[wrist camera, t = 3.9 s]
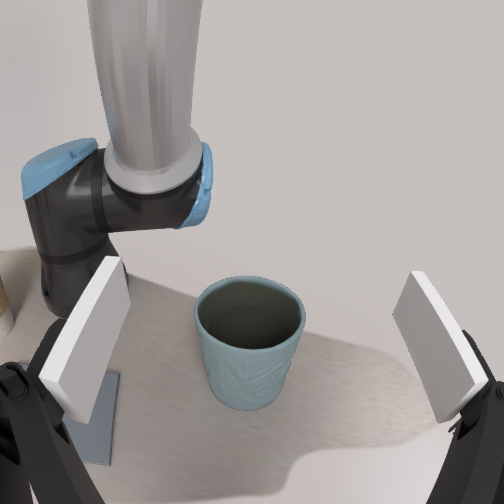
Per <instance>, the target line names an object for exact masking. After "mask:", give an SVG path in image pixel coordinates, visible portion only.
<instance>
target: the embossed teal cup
mask: <svg viewBox="0 0 504 504" xmlns="http://www.w3.org/2000/svg"><path fill="white" fill-rule="evenodd" d="M194 317H195V322H196V326H197V330H198V334H199V338H200V341H201V347H202V350H203V358H204V361H205V362H204V363H205V367H206V369H207V371H208V373H207V374H208V379H209V384H210V387H211V390H212V392H213V393H214V395H215V396H216V398H217V399H218V400H219V401H220V402H222V403H223V404H225V405H226V406H228V407H229V408H233V409H237V410H243V411H249V410H252V411H253V410H257V409H260V408H262V407H265V406H267V405H268V404H270V403H271V402H272V401H274V400H275V399H276V397H277V396H278V395H279V393H280V391H281V388H282V385H283V382H284V379H285V376H286V373H287V371H288V369H289V366H290V360H291V358H292V356H293V354H294V352H295V350H296V347H297V343H298V341H299V339H300V336H301V333H302V331H303V328H304V325H305V321H306V313H305V310H304V306H303V304H302V302H301V300H300V299H299V298H298V296H297V295H296V294H295V293H294V292H292V291H291V290H290V289H289V288H288V287H286V286H284V285H282V284H279V283H277V282H274V281H272V280H269V279H266V278H262V277H256V276H238V277H231V278H227V279H223V280H221V281H218V282H216V283H214V284H212V285H211V286H209V287H208V288H207V289H206V290H204V291H203V293H202V294H201V295H200V296H199V298H198V300H197V302H196V305H195V309H194Z"/></svg>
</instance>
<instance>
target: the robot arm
mask: <svg viewBox="0 0 504 504" xmlns="http://www.w3.org/2000/svg"><path fill="white" fill-rule="evenodd" d="M202 1H203V0H87V4H88V14H89V22H90V30H91V38H92V44H93V51H94V58H95V64H96V69H97V75H98V80H99V85H100V90H101V96H102V101H103V105H104V110H105V114H106V119H107V123H108V127H109V132H110V136H111V140H110V141H109V143H108V145H107V147H106V148H102V149H98V144H97V142H96V139H94V138H87V139H86V138H84V139H79V140H75V141H71V142H68V143H65V144H62V145H59V146H57V147H54V148H52V149H49V150H47V151H45V152H43V153H41V154H39V155H37V156H35V157H34V158H32V159H31V160H30V161H28V162H27V163H26V164H25V166H24V167H23V169H22V173H21V182H22V190H23V200H24V201H25V205H26V209H27V213H28V217H29V221H30V224H31V228H32V231H33V235H34V238H35V242H36V245H37V248H38V252H39V255H40V258H41V289H42V294H43V297H44V299H45V302H46V304H47V306H48V308H49V309H50V311H52V312H53V313H54V314H56V315H57V316H60V317H63V318H67V319H68V320H67V319H61V318H59V319H58V320H56V321H55V322H54V323H53V324H52V325H51V326H50V327H49V329H48V330H47V332H46V334H45V336H44V339H42V341H41V343H40V347H38V349H37V351H36V352H35V354H34V356H33V358H32V360H31V362H30V364H29V366H28V368H27V370H26V372H25V370H24V369H23V367H22V366H21V365H20V364H18V363H17V362H7V363H4V364H3V365H1V366H0V504H33V500H32V494H31V489H30V484H31V486H32V489H33V491H34V494H35V496H36V498H37V501H38V503H39V504H105V503H104V501H103V499H102V498H101V496H100V494H99V492H98V491H97V489H96V487H95V485H94V484H93V482H92V480H91V478H90V476H89V474H88V473H87V471H86V469H85V467H84V465H83V463H82V461H81V459H80V457H79V455H78V453H77V450H76V448H75V446H74V444H73V442H72V440H71V437H70V435H69V433H68V430H67V428H66V426H65V423H64V422H63V420H62V418H63V415H64V412H65V413H66V415H67V416H68V417H69V418H70V419H71V420H74V421H77V422H81V423H85V424H88V423H89V420H90V417H91V414H92V410H93V407H94V404H95V401H96V398H97V395H98V392H99V389H100V386H101V383H102V380H103V377H104V374H105V372H106V369H107V366H108V363H109V360H110V358H111V355H112V352H113V350H114V347H115V344H116V342H117V339H118V336H119V334H120V331H121V329H122V326H123V324H124V321H125V319H126V316H127V314H128V311H129V309H130V306H131V301H130V297H129V292H128V288H127V286H128V278H127V273H126V268H125V266H124V263H123V262H122V258H121V257H119V255H118V253H117V252H116V250H115V248H114V246H113V245H112V243H111V241H110V239H109V236H108V233H113V232H123V231H136V230H150V229H165V228H173V229H180V228H183V227H188V226H196V225H198V224H200V223H201V222H202V221H203V220H204V219H205V217H206V215H207V212H208V209H209V205H210V200H211V188H212V183H213V161H212V153H211V150H210V147H209V146H208V144H207V143H205V142H201V141H200V139H199V137H198V135H197V133H196V132H195V130H194V129H193V128H191V127H190V122H191V108H192V94H193V82H194V71H195V60H196V51H197V41H198V33H199V32H198V31H199V24H200V16H201V9H202ZM393 317H394V319H395V321H396V323H397V325H398V327H399V330H400V331H401V334H402V336H403V338H404V340H405V343H406V345H407V347H408V350H409V352H410V354H411V356H412V359H413V361H414V363H415V366H416V368H417V371H418V373H419V376H420V378H421V381H422V383H423V386H424V388H425V391H426V393H427V396H428V398H429V401H430V404H431V406H432V409H433V412H434V414H435V417H436V420H437V423H438V424H439V423H442V422H446V421H450V420H452V419H453V418H454V417H455V416H456V415H457V414H458V413H459V412H460V415H461V418H460V419H459V420H458V421H457V422H456V423H455V424H454V425H453V426H452V427H451V428H450V429H449V431H448V432H451V431H452V430H453V429H454V428H456V429H455V432H454V433H453V434H454V436H453V438H452V441H451V444H450V447H449V450H448V453H447V455H446V458H445V461H444V463H443V466H442V469H441V471H440V473H439V476H438V478H437V481H436V483H435V485H434V488H433V490H432V492H431V494H430V496H429V499H428V500H427V503H426V504H504V382H501V381H498V382H497V381H496V380H495V378H494V376H493V374H492V372H491V370H490V369H489V367H488V365H487V363H486V361H485V359H484V358H483V356H481V353H480V351H479V349H478V348H477V345H476V343H475V342H474V340H473V338H472V337H471V336H470V335H469V334H468V333H467V332H466V331H465V330H461V329H460V327H459V326H458V324H457V322H456V321H455V319H454V318H453V316H452V315H451V313H450V311H449V310H448V308H447V307H446V305H445V303H444V302H443V300H442V299H441V297H440V296H439V294H438V293H437V291H436V290H435V288H434V287H433V285H432V284H431V282H430V281H429V279H428V278H427V276H426V275H425V273H424V272H423V271H410V274H409V276H408V279H407V281H406V284H405V286H404V289H403V291H402V293H401V296H400V298H399V300H398V303H397V305H396V307H395V309H394V312H393ZM29 481H30V484H29Z"/></svg>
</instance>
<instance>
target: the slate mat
mask: <svg viewBox="0 0 504 504" xmlns="http://www.w3.org/2000/svg"><path fill="white" fill-rule="evenodd" d="M18 364H20V365H21V366H22V367H23V369H24V370H25V372H26V370H27V368H28V366H29V365H28V364H21V363H18ZM119 377H120V375H119V373H109V372H105V374H104V377H103V380H102V383H101V386H100V389H99V392H98V395H97V398H96V401H95V404H94V407H93V410H92V414H91V417H90V420H89V423H88V424H85V423H81V422H77V421H74V420H71V419H70V418H69V417H68V416H67V415H66V413H65V412H64V415H63V418H62V420H63V422H64V423H65V426H66V428H67V430H68V433H69V435H70V437H71V440H72V442H73V444H74V446H75V448H76V450H77V453H78V455H79V457H80V459H81V461H82V462H87V463H94V464H101V465H109V466H111V451H112V438H113V427H114V417H115V408H116V400H117V392H118V384H119Z"/></svg>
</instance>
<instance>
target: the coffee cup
mask: <svg viewBox="0 0 504 504" xmlns="http://www.w3.org/2000/svg"><path fill="white" fill-rule="evenodd" d="M13 326H14V318H13V315H12V312H11V310H10V307H9V304H8V299H7V296H6V293H5V290H4V286H3V283H2V280H1V276H0V339H2V338H3V337H5V336H6V335H8V334H9V333H10V331H11V330H12V328H13Z"/></svg>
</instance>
